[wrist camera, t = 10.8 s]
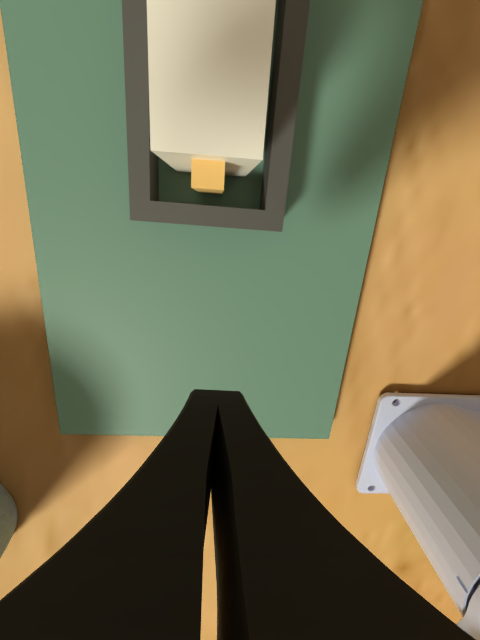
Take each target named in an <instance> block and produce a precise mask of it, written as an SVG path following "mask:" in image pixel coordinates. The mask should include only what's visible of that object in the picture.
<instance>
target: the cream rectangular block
mask: <svg viewBox="0 0 480 640" xmlns="http://www.w3.org/2000/svg"><path fill="white" fill-rule="evenodd" d="M275 5H276V0H147V34H148V72H149V111H150V149H151V151H152V152H153V153H154V154H156V155H157V156H158V157H160V158H161V159H162V160H163V161H165V162H166V163H167V164H168V165H170V166H171V167H172V168H174V169H175V170H176V171H178V172H190V173H191V188H193V189H194V190H196V191H198V192H199V193H212V194H222V193H223V191H224V177H225V175H228V176H241V177H245V176H246V175H247V174H248V173H249V172H250V171H252V170H253V169H254V168H255V167H256V166H257V165H258V164H259V163H260V162H261V161H262V160H263V151H264V139H265V127H266V114H267V102H268V90H269V78H270V66H271V54H272V42H273V30H274V17H275Z"/></svg>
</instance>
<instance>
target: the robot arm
mask: <svg viewBox="0 0 480 640" xmlns="http://www.w3.org/2000/svg"><path fill="white" fill-rule="evenodd" d="M396 399H397V400H396ZM394 400H396V401H395V402H393V401H394ZM392 402H393V403H392ZM356 488H357V490H358V492H360V493H390V495H391V497H392V499H393V500H394V502H395V504H396V505H397V507H398V509H399V510H400V512H401V514H402V515H403V517H404V519H405V520H406V522H407V524H408V526H409V527H410V529H411V531H412V532H413V534H414V536H415V537H416V539H417V541H418V542H419V544H420V546H421V547H422V549H423V551H424V553H425V554H426V556H427V558H428V559H429V561H430V563H431V564H432V566H433V568H434V569H435V571H436V573H437V575H438V576H439V578H440V580H441V581H442V583H443V585H444V586H445V588H446V590H447V591H448V593H449V595H450V596H451V598H452V600H453V602H454V603H455V605H456V607H457V608H458V610H459V612H460V613H461V615H462V617H463V618H462V619H461V620H460V621H459V622H458V623H457V624H455V623H453V622H452V621H451V620H450V619H448V618H447V617H446V616H445V615H443V614H442V613H441V612H440V611H439V610H437V609H436V608H435V607H434V606H433V605H431V604H430V603H429V602H428V601H427V600H425V599H424V598H423V597H422V596H421V595H419V594H418V593H417V592H416V591H415V590H413V589H412V588H411V587H410V586H408V585H407V584H406V583H405V582H404V581H402V580H401V579H400V578H399V577H398V576H397V575H396V574H394V573H393V572H392V571H391V570H390V569H389V568H388V567H386V566H385V565H384V564H383V563H382V562H381V561H380V560H379V559H378V558H377V557H376V556H374V555H373V554H372V553H371V552H370V551H369V550H368V549H367V548H366V547H365V546H364V545H363V544H362V543H360V542H359V541H358V540H357V539H356V538H355V537H354V536H353V535H352V534H351V533H350V532H349V531H348V530H346V529H345V528H344V527H343V526H342V525H341V524H340V523H339V522H338V521H337V520H336V519H335V517H334V516H333V515H332V514H331V513H330V512H329V511H328V510H327V509H326V508H325V507H324V506H323V505H322V504H321V503H320V502H319V501H318V499H317V498H316V497H315V496H314V495H313V494H312V493H311V492H310V491H309V489H308V488H307V487H306V486H305V485H304V484H303V482H302V481H301V480H300V479H299V478H298V476H297V475H296V474H295V473H294V471H293V470H292V469H291V468H290V466H289V465H288V464H287V462H286V461H285V460H284V459H283V457H282V456H281V455H280V453H279V452H278V451H277V449H276V448H275V446H274V445H273V443H272V442H271V441H270V439H269V438H268V436H267V435H266V433H265V432H264V430H263V429H262V427H261V426H260V424H259V423H258V421H257V419H256V418H255V416H254V414H253V413H252V411H251V409H250V407H249V405H248V404H247V402H246V400H245V398H244V396H243V394H242V393H241V392H240V391H226V390H204V389H194V390H193V391H192V392H190V395H189V397H188V399H187V401H186V403H185V405H184V407H183V409H182V411H181V412H180V414H179V415H178V417H177V419H176V420H175V422H174V423H173V425H172V426H171V428H170V429H169V430H168V432H167V433H166V435H165V436H164V438H163V439H162V440H161V442H160V443H159V444H158V446H157V447H156V448H155V450H154V451H153V452H152V453H151V455H150V456H149V457H148V458H147V460H146V461H145V462H144V463H143V465H142V466H141V467H140V468H139V470H138V471H137V472H136V473H135V474H134V475H133V476H132V478H131V479H130V480H129V481H128V482H127V483H126V484H125V485H124V487H123V488H122V489H121V490H120V491H119V492H118V493H117V494H116V495H115V496H114V497H113V498H112V499H111V500H110V501H109V502H108V504H107V505H106V506H105V507H104V508H103V509H102V510H101V511H100V512H98V513H97V514H96V515H95V516H94V517H93V518H92V519H91V520H90V521H89V522H88V523H87V524H86V525H85V526H84V527H83V528H82V529H81V530H80V531H79V532H78V533H77V534H76V535H75V536H74V537H73V538H72V539H71V540H69V541H68V542H67V543H66V544H65V545H64V546H63V547H62V548H61V549H60V550H59V551H57V552H56V553H55V554H54V555H53V556H52V557H51V558H50V559H48V560H47V561H46V562H45V563H44V564H43V565H41V566H40V567H39V568H38V569H37V570H35V571H34V572H33V573H32V574H31V575H30V576H28V577H27V578H26V579H25V580H24V581H23V582H21V583H20V584H19V585H18V586H17V587H16V588H14V589H13V590H12V591H11V592H10V593H8V594H7V595H6V596H5V597H4V598H3V599H1V600H0V640H200V630H201V601H202V572H203V547H204V539H205V531H206V524H207V516H208V508H209V500H210V492H211V495H212V512H213V529H214V545H215V562H216V579H217V640H480V395H451V394H419V393H384V394H382V395H381V396H380V397H379V399H378V402H377V406H376V410H375V413H374V417H373V421H372V425H371V428H370V432H369V436H368V440H367V443H366V447H365V451H364V455H363V458H362V462H361V466H360V470H359V473H358V477H357V481H356Z"/></svg>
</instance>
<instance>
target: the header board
mask: <svg viewBox="0 0 480 640" xmlns="http://www.w3.org/2000/svg"><path fill="white" fill-rule="evenodd" d="M422 4H423V0H276V5H275V17H274V30H273V42H272V54H271V66H270V78H269V90H268V102H267V114H266V127H265V139H264V151H263V160H262V161H261V162H260V163H259V164H258V165H257V166H256V167H255V168H254V169H253V170H252V171H250V172H249V173H248V174H247V175H246V176H245V177H241V176H228V175H225V177H224V191H223V193H222V194H212V193H199V192H198V191H196V190H194V189H193V188H191V173H190V172H178V171H176V170H175V169H174V168H172V167H171V166H170V165H168V164H167V163H166V162H165V161H163V160H162V159H161V158H160V157H158V156H157V155H156V154H154V153H153V152H152V151H151V149H150V111H149V72H148V34H147V0H0V8H1V15H2V22H3V29H4V36H5V43H6V50H7V57H8V65H9V72H10V79H11V86H12V93H13V100H14V107H15V115H16V122H17V129H18V136H19V143H20V150H21V157H22V165H23V172H24V179H25V186H26V193H27V200H28V207H29V214H30V222H31V229H32V236H33V243H34V250H35V257H36V264H37V272H38V279H39V286H40V293H41V300H42V307H43V314H44V321H45V329H46V336H47V343H48V350H49V357H50V364H51V371H52V379H53V386H54V393H55V400H56V407H57V414H58V421H59V429H60V434H81V435H137V436H165V435H166V433H167V432H168V430H169V429H170V428H171V426H172V425H173V423H174V422H175V420H176V419H177V417H178V415H179V414H180V412H181V411H182V409H183V407H184V405H185V403H186V401H187V399H188V397H189V395H190V392H192V391H193V390H194V389H204V390H226V391H240V392H241V393H242V394H243V396H244V398H245V400H246V402H247V404H248V405H249V407H250V409H251V411H252V413H253V414H254V416H255V418H256V419H257V421H258V423H259V424H260V426H261V427H262V429H263V430H264V432H265V433H266V435H267V436H268V438H306V439H329V436H330V431H331V427H332V422H333V418H334V413H335V408H336V404H337V399H338V394H339V390H340V385H341V380H342V376H343V371H344V366H345V362H346V357H347V352H348V348H349V343H350V338H351V334H352V329H353V325H354V320H355V315H356V311H357V306H358V301H359V297H360V292H361V287H362V283H363V278H364V273H365V269H366V264H367V259H368V255H369V250H370V245H371V241H372V236H373V232H374V227H375V222H376V218H377V213H378V208H379V204H380V199H381V194H382V190H383V185H384V180H385V176H386V171H387V166H388V162H389V157H390V153H391V148H392V143H393V139H394V134H395V129H396V125H397V120H398V115H399V111H400V106H401V101H402V97H403V92H404V87H405V83H406V78H407V73H408V69H409V64H410V60H411V55H412V50H413V46H414V41H415V36H416V32H417V27H418V22H419V18H420V13H421V8H422Z"/></svg>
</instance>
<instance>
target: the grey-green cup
mask: <svg viewBox="0 0 480 640" xmlns="http://www.w3.org/2000/svg"><path fill="white" fill-rule="evenodd" d="M17 515H18V514H17V507H16V505H15V502H14V500H13V498H12V496H11V495H10V493H9V492H8V491H7V490H6V488H5V487H4V486H3V485H2V484H1V483H0V558H1V556H2V554H3V552H4V551H5V549H6V547H7V545H8V543H9V541H10V539H11V537H12V535H13V533H14V531H15V528H16V524H17Z"/></svg>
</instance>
